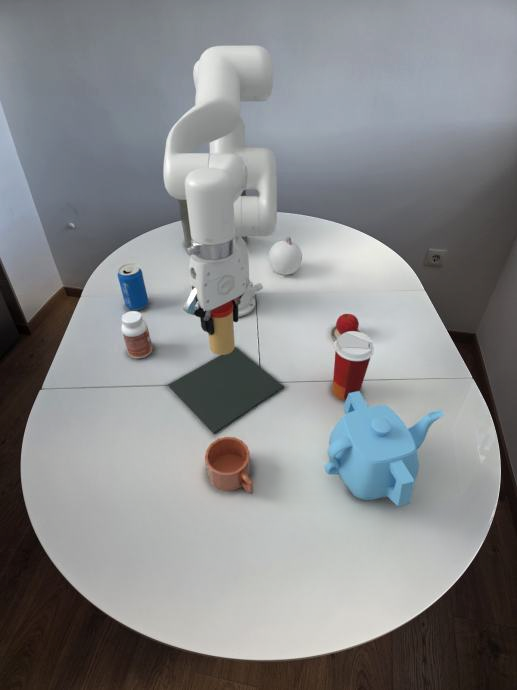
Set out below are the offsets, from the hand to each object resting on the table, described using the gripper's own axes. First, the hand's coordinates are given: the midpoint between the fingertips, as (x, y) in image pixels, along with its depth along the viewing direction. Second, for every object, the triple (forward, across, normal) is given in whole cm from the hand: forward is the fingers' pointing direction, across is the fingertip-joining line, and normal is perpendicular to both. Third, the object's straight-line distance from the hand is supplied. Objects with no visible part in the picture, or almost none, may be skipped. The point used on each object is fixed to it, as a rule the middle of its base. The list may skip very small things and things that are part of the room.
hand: (220, 324), depth 87 cm
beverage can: (+19, 0, +42) cm, 47 cm away
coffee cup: (+19, +20, -19) cm, 34 cm away
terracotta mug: (+19, -13, -19) cm, 30 cm away
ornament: (+19, +44, +27) cm, 56 cm away
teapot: (+19, +9, -36) cm, 42 cm away
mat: (+19, 0, 0) cm, 19 cm away
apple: (+19, +35, -6) cm, 41 cm away
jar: (+6, 0, 0) cm, 6 cm away
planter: (+19, +39, +57) cm, 72 cm away
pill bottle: (+19, -9, +24) cm, 32 cm away
